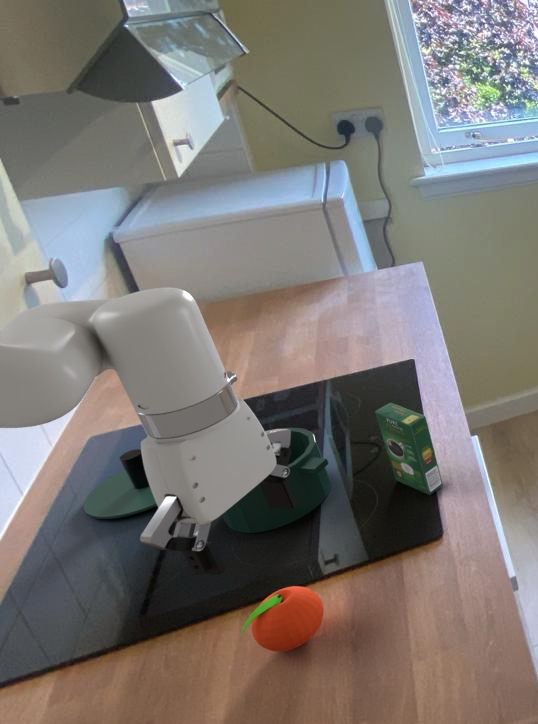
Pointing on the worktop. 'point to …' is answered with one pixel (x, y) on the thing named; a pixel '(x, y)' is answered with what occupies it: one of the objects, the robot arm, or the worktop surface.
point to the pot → (304, 482)
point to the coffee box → (409, 448)
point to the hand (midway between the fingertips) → (249, 537)
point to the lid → (122, 491)
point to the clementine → (286, 618)
